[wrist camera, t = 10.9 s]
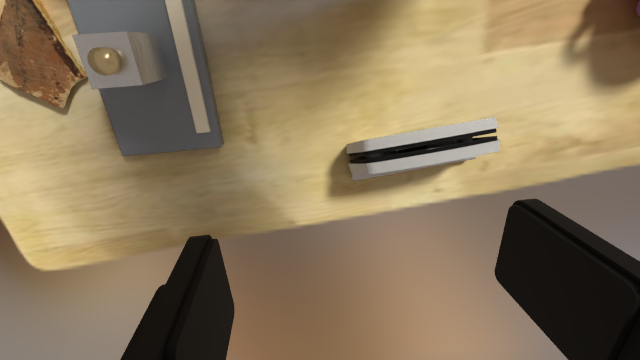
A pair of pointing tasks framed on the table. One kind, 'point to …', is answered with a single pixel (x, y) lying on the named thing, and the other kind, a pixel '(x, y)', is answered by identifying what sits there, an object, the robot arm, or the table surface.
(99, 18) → the hole plate
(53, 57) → the shard
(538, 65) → the table surface
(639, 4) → the teapot
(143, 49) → the block
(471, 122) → the grey layered slab
